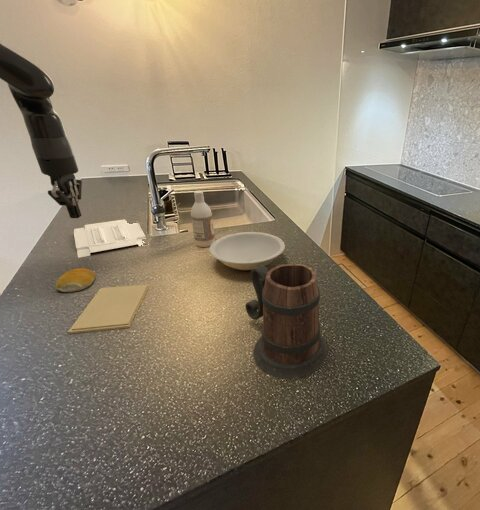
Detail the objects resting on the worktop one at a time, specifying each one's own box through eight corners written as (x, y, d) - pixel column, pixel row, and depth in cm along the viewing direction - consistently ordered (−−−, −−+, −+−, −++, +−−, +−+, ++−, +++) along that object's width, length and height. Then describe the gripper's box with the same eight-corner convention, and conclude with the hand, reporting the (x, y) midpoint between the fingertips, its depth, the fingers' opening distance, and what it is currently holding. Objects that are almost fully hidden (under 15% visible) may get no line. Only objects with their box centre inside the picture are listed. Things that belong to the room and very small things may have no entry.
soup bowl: (267, 243, 119) (266, 227, 116) (297, 270, 103) (297, 252, 100) (202, 256, 106) (200, 239, 103) (225, 289, 89) (223, 270, 86)
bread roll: (99, 274, 91) (95, 262, 90) (89, 290, 84) (85, 278, 82) (64, 277, 88) (60, 265, 87) (52, 294, 81) (46, 282, 79)
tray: (78, 258, 99) (74, 247, 97) (74, 231, 118) (70, 222, 116) (149, 244, 111) (147, 235, 109) (135, 222, 130) (133, 214, 128)
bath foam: (213, 247, 112) (207, 194, 103) (193, 247, 111) (185, 194, 102) (216, 239, 119) (210, 189, 109) (197, 239, 117) (190, 188, 108)
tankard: (342, 347, 72) (349, 274, 63) (290, 393, 60) (290, 311, 51) (275, 305, 84) (273, 240, 75) (220, 336, 72) (210, 263, 63)
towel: (68, 334, 69) (67, 330, 69) (100, 290, 85) (99, 287, 84) (128, 327, 72) (128, 324, 72) (149, 286, 88) (148, 283, 87)
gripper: (51, 150, 84) (71, 209, 92) (21, 158, 73) (47, 226, 81) (83, 150, 86) (101, 209, 94) (58, 159, 75) (81, 225, 83)
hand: (76, 217), depth 87 cm, fingers closed
